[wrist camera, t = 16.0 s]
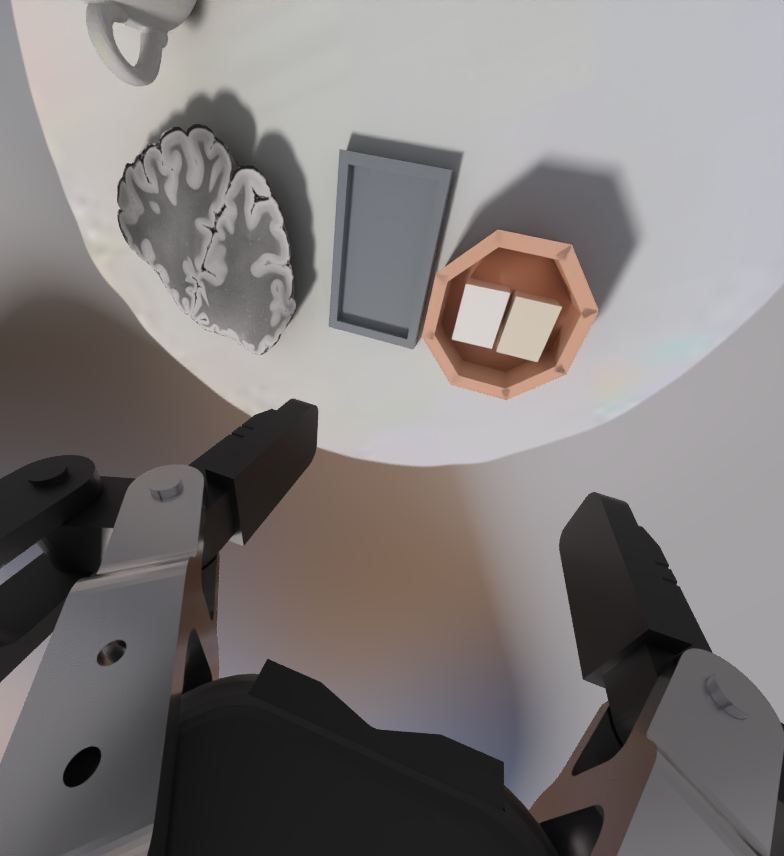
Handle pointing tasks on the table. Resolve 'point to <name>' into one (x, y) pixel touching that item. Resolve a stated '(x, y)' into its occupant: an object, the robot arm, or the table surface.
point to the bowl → (519, 269)
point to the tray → (385, 245)
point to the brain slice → (210, 235)
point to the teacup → (141, 9)
